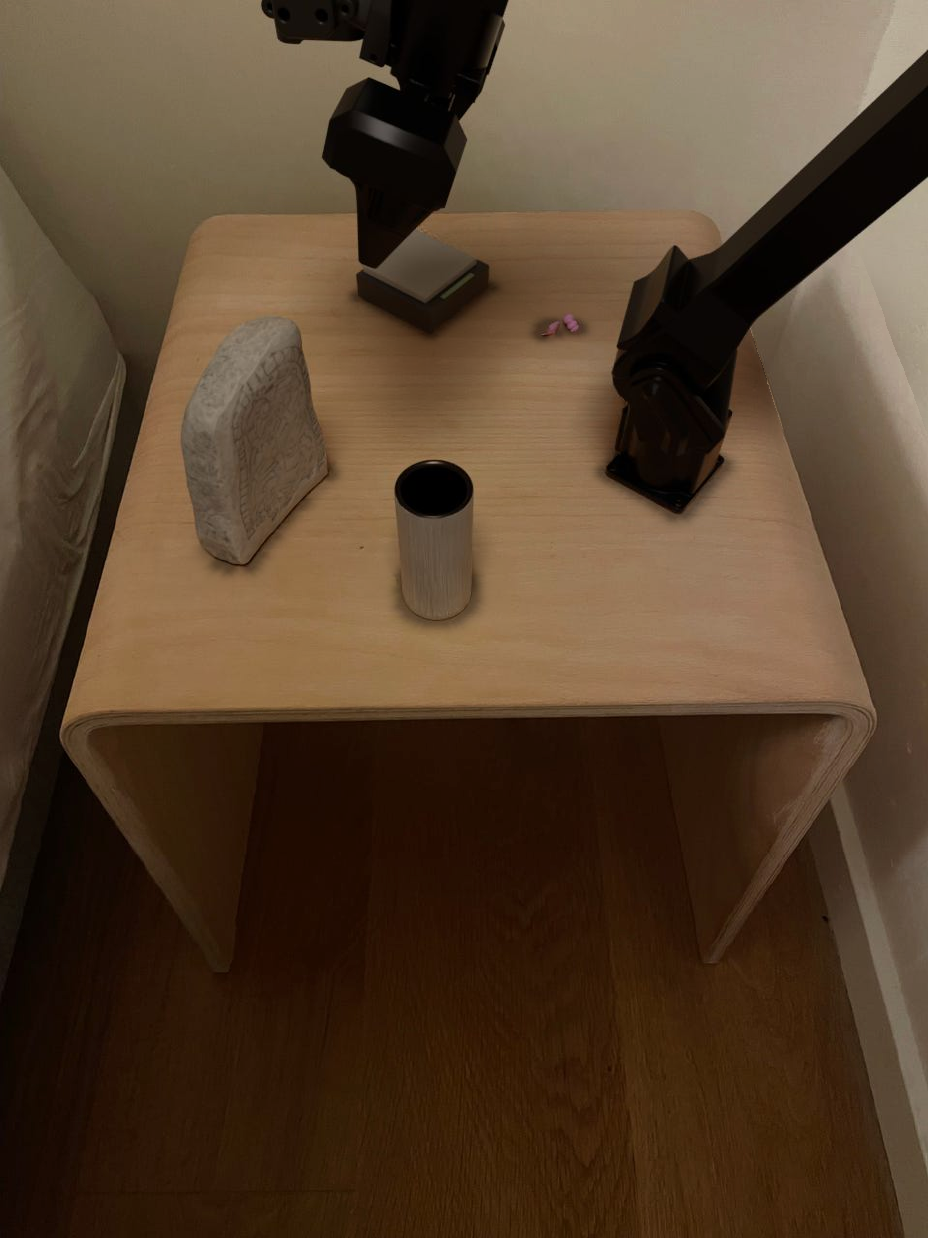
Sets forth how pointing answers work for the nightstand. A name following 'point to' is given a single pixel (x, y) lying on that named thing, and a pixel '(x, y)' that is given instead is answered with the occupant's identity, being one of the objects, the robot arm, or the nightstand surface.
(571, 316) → the pink seashells
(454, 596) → the planter
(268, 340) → the decorative stone
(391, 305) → the scale
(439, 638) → the nightstand surface
